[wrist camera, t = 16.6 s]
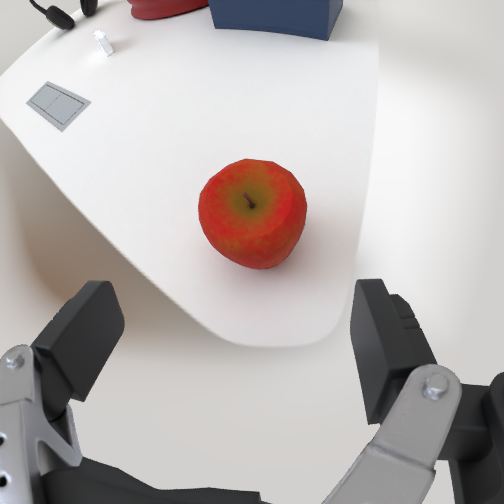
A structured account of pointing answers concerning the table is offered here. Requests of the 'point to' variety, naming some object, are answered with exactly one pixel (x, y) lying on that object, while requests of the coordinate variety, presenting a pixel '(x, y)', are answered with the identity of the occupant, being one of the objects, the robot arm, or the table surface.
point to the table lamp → (163, 7)
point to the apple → (253, 212)
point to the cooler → (278, 16)
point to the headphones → (60, 17)
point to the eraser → (103, 42)
